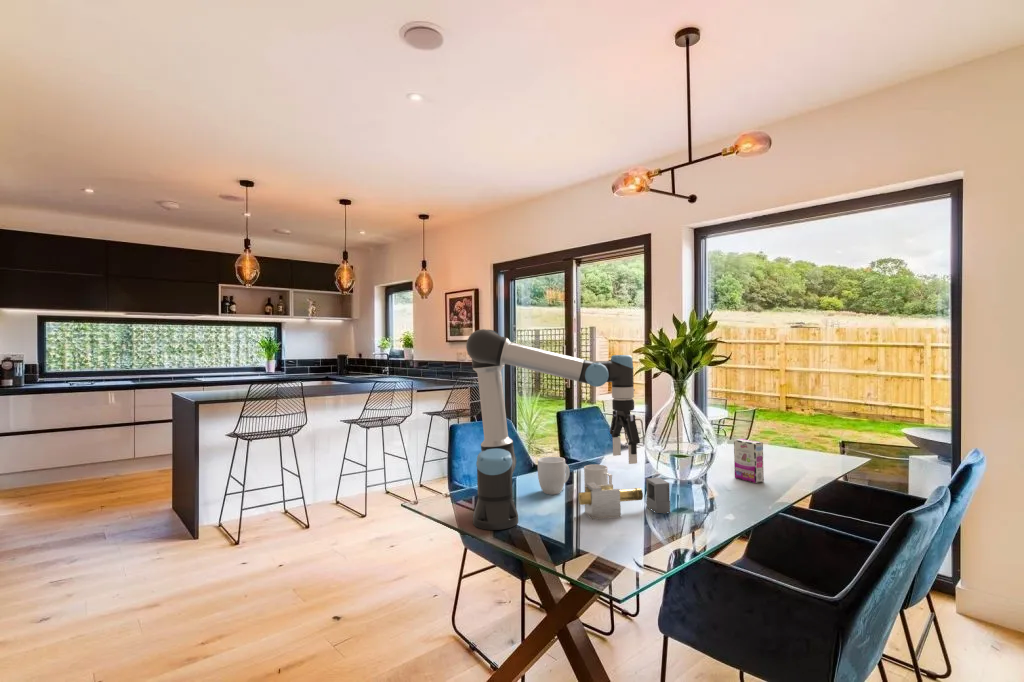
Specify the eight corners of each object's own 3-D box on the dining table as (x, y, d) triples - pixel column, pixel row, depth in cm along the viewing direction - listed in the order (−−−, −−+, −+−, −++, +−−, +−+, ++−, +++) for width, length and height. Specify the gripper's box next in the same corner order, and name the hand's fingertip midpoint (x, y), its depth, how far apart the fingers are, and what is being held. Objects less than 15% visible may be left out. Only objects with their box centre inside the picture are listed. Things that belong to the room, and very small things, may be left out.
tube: (581, 506, 181) (581, 494, 181) (578, 502, 185) (577, 491, 185) (643, 501, 185) (642, 489, 185) (638, 498, 189) (637, 486, 189)
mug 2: (579, 495, 207) (579, 467, 207) (595, 491, 213) (594, 463, 213) (603, 502, 198) (603, 472, 198) (619, 497, 204) (618, 468, 204)
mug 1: (559, 485, 223) (558, 453, 223) (578, 490, 215) (577, 457, 215) (532, 492, 214) (531, 459, 214) (551, 498, 205) (550, 463, 205)
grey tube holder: (592, 519, 180) (591, 489, 180) (584, 512, 188) (584, 482, 188) (620, 517, 182) (620, 486, 182) (612, 509, 190) (611, 480, 190)
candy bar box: (764, 482, 220) (763, 442, 220) (755, 483, 218) (755, 443, 218) (742, 476, 231) (741, 438, 231) (733, 477, 229) (733, 439, 229)
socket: (656, 514, 184) (656, 484, 184) (646, 506, 192) (646, 478, 192) (670, 512, 185) (669, 483, 185) (659, 505, 193) (659, 477, 193)
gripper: (649, 402, 177) (650, 466, 177) (618, 394, 202) (620, 451, 202) (627, 403, 176) (629, 468, 176) (599, 395, 200) (601, 452, 200)
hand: (624, 459), depth 189 cm, fingers open, 13 cm apart
